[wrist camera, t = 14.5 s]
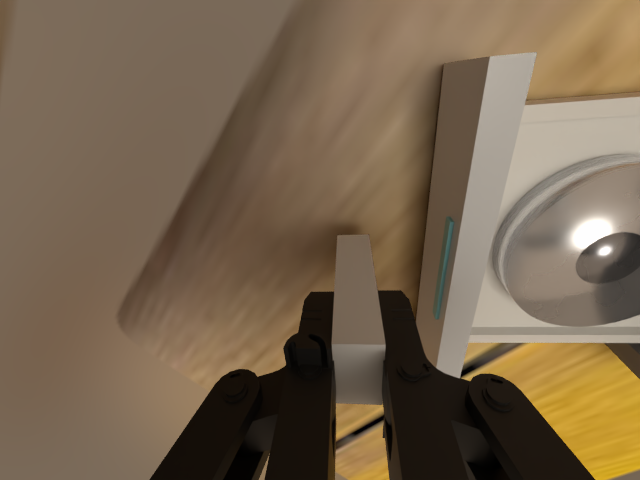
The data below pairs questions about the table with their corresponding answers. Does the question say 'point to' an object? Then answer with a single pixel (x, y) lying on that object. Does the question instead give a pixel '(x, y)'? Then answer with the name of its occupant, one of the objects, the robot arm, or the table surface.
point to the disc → (576, 245)
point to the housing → (628, 355)
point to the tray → (503, 199)
